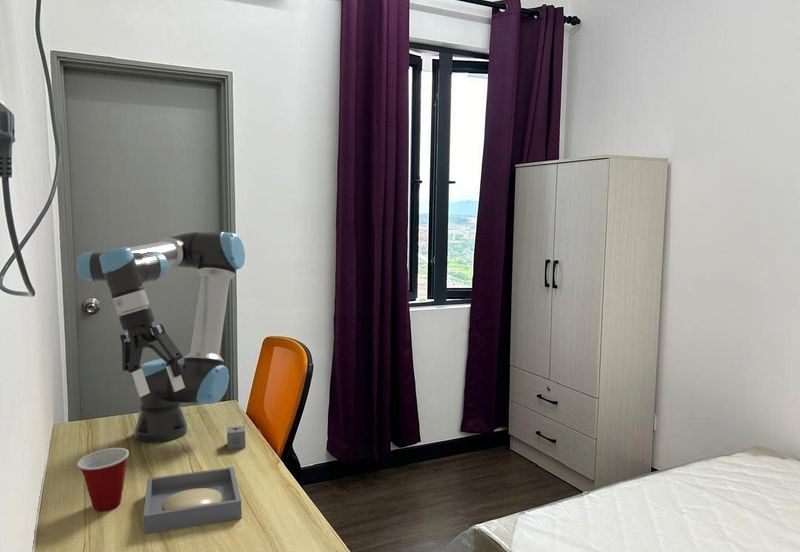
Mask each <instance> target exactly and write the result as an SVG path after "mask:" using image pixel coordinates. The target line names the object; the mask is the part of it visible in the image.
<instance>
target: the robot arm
mask: <svg viewBox="0 0 800 552" xmlns="http://www.w3.org/2000/svg"><path fill="white" fill-rule="evenodd" d="M244 246H245V245H244V243H243V241H242V239H241V238H240V237H239V235H238V234H236V233H233V232H226V231H221V232H218V231H216V232H214V231H213V232H211V231H210V232H207V231H206V232H205V231H204V232H203V231H201V232H198V231H194V232H192V231H191V232H185V233H181V234H177V235H173V236H168V237H163V238H161V239H160V240H159V241H158V242H153V243H148V244H142V245H136V246H131V247H120V248H116V249H113V250H107V251H101V252H97V251H96V252H95V251H91V252H83V253H81V254H80V255H79V257H78V258H77V260H76V265H75V266H76V273H77V274H78V276H79V278H80V279H82V280H84V281H91V282H106V284H107V287H108V289H109V291H110V295H111V299H112V301H113V305H114V306H115V307H114V308H115V309H116V313H117V314H118V315H120V316H119V318H118V320H119V322H120V326H121V328H122V330H123V331H127V332H126V333H125V332H124V333H122V334H120V335H119V338H120V341H121V354H122V355H121V359H122V366H121V367H122V370H123V371H124V372H126V371H127V372H128V373H130V374H131V378H132V380H133V384H134V386H135V388H136V392H137V394H138V397H139V414H138V418H137V422H136V425H135V428H134V438H135V440H137V441H140V442H146V443H157V442H158V443H159V442H166V441H171V440H175V439H178V438H180V437H182V436H184V435H185V434H187V432H188V422H187V419H186V417H185V415H184V413H183V410H182V408H181V404H195V405H202V406H203V405H214V404H217V403H218V402H220V400H222V398H223V397H224V396H225V394H226V393H227V392H226V391H227V389H228V386H229V381H230V375H229V369H228V368H227V367H226V365H224V362H225V361H224V358H222V356H221V355H220V354H221V345H222V339H223V331H224V326H225V325H224V324H225V316H226V310H227V301H228V296H229V295H228V294H229V287H230V281H231V280H232V279H233V278H235V277H236V272H237V270H240V269H242V268H243V266H244V264H245V261H246V257H245V256H246V255H245V254H246V252H245V247H244ZM173 268H187V269H188V268H189V269H197V273H198V274H199V275H200V286H199V293H198V298H197V305H196V313H195V320H194V326H193V333H192V338H191V345H190V352H189V353H187V354H186V355H185V356H183V354H182V353H181V351H180V349H178V347H177V346H176V345H175V343H174V342H173V341H172V338H170V336H169V335H168V334H167V332H166V329H165V327H164V325H163V324H161V323H160V324H157V325H153V322H155V317H154V314H153V311H152V308H150V307H148V306H149V305H150V301H149V297H148V295H147V293H146V290H145V287H144V285H143V284H145V283H149V282H152V281H153V282H154V281H157V280H159V279H161V278H163V277H164V276H165V275H166V274H167V273H168V271H169V269H173ZM146 348H149V349H152V350H153V351H154V353H156V355H158V357H160V358H158V359H154V360H150V361H147V362H145V363H144V362H143V364H141V360H142V354H143V349H146ZM183 357H184V358H183ZM181 359H183V363H180V360H181Z"/></svg>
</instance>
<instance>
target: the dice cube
mask: <svg viewBox="0 0 800 552" xmlns="http://www.w3.org/2000/svg"><path fill="white" fill-rule="evenodd" d="M245 427H246V425H238V426H227V428H226V437H227V438H226V441H227V450H237V449H238V450H239V449H246V428H245Z"/></svg>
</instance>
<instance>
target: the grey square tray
mask: <svg viewBox="0 0 800 552" xmlns="http://www.w3.org/2000/svg"><path fill="white" fill-rule="evenodd" d="M146 481H147V482H146V488H145V489H146V490H145V500H144V506H143V507H144V509H143V516H142V517H143V518H142V519H143V534H144V535H149V534H155V533H160V532H166V531H167V532H168V531H173V530H180V529H185V528H191V527H198V526H203V525H208V524H214V523H215V524H216V523H222V522H229V521H233V520H240V519H242V518H243V517H242V516H243V515H242V512H243V511H242V499H241V494H240V490H239V485H238V480H237V477H236V472H235V467H234V466H230V467H223V468H215V469H208V470H200V471H194V472H193V471H192V472H186V473H178V474H170V475H163V476H157V477H148V478H147V480H146Z"/></svg>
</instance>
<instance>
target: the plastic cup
mask: <svg viewBox="0 0 800 552" xmlns="http://www.w3.org/2000/svg"><path fill="white" fill-rule="evenodd" d="M129 454H130V453H129V450H128V449H126V448H123V447H111V448H104V449H100V450H97V451H94V452H91V453H88V454H87V455H84V456H83V457H81V458H80V459H79V460H78V461H77V467H78V468H79V469H80V470H81V472H82V474H83V477H84V480H85V483H86V484H85V485H86V487H87V488H86V489H87V491H88V495H89V498H90V501H91V506H92V509H93V510H95V511H97V512H107V511H111V510H114V509H116V508H118V507H119V506H120V505H121V503H122V496H123V495H122V494H123V490H124V483H125V474H126V468H127V461H128V457H129Z"/></svg>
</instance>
